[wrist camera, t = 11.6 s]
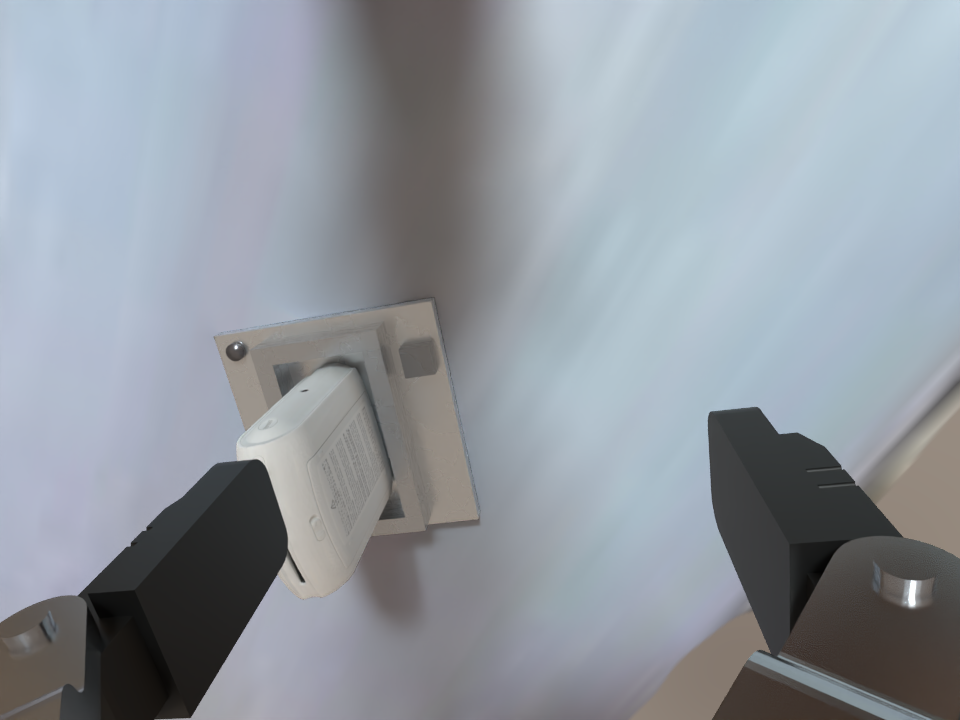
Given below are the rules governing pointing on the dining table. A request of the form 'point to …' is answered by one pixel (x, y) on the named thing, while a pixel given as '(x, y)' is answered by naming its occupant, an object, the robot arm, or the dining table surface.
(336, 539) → the photo printer
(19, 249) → the dining table surface
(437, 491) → the plate
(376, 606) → the dining table surface
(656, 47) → the dining table surface
